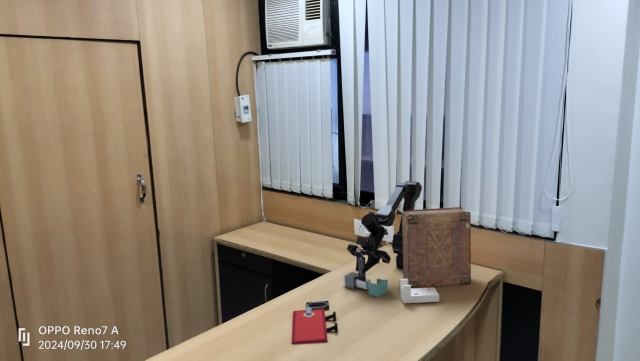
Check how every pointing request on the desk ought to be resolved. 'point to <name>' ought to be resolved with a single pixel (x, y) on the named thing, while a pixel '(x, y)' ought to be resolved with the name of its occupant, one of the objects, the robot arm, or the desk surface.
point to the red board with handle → (312, 323)
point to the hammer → (361, 275)
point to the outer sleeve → (351, 280)
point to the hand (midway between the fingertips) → (359, 271)
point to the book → (436, 247)
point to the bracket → (417, 293)
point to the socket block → (378, 288)
